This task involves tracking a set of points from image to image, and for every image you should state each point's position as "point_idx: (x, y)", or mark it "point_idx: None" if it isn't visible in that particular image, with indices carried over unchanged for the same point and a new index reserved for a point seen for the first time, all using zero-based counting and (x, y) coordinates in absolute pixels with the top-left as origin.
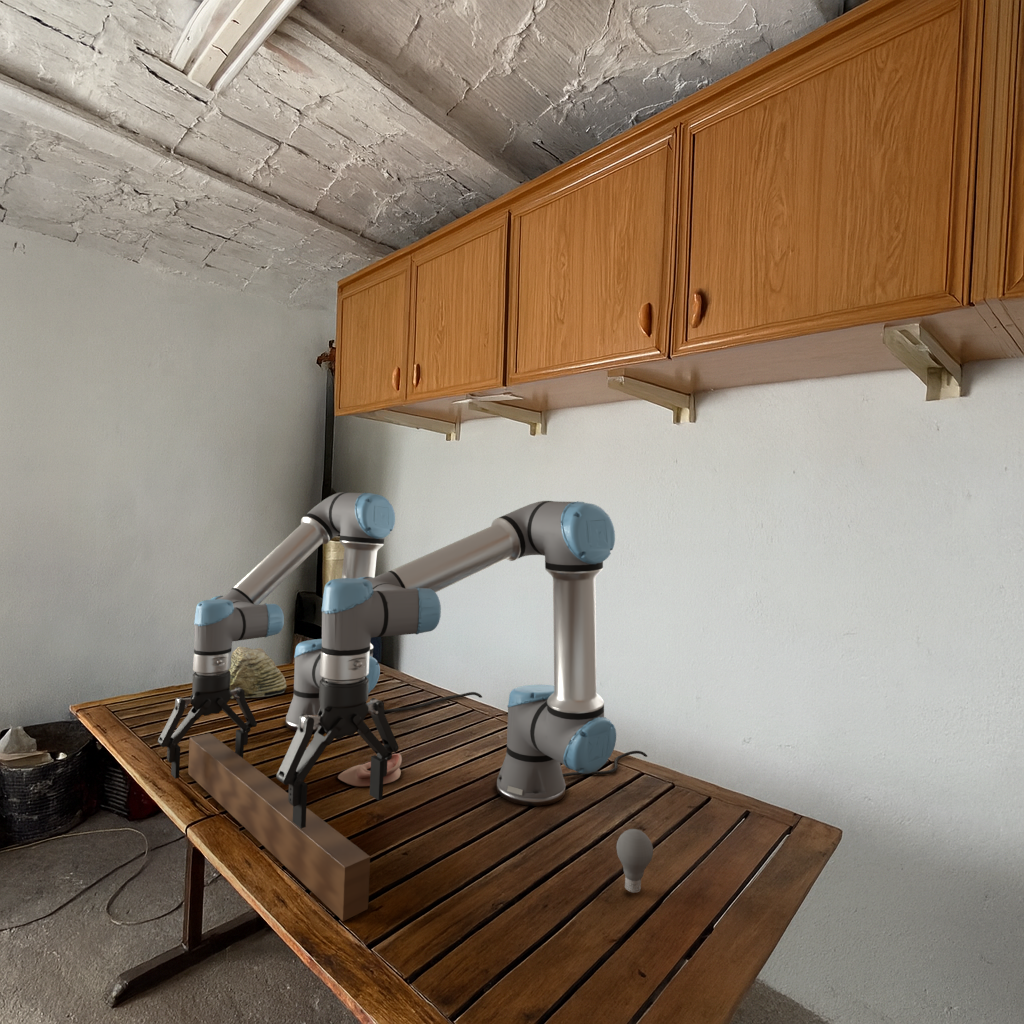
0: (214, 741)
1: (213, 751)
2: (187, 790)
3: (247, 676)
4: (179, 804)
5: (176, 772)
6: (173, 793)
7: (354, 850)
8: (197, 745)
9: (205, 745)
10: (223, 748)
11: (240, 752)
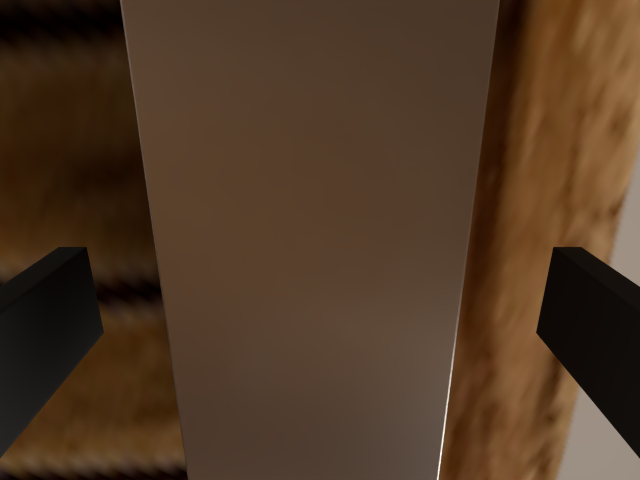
0: (247, 453)
1: (396, 125)
2: None
3: None
4: (606, 9)
5: (603, 265)
6: (547, 203)
7: None
8: (434, 468)
9: (385, 401)
10: (224, 151)
11: (35, 283)
